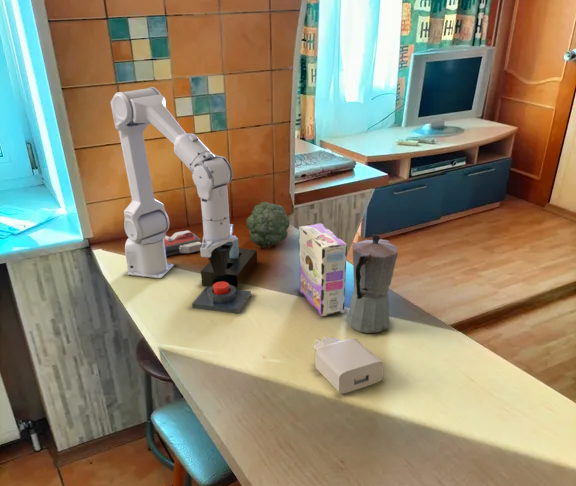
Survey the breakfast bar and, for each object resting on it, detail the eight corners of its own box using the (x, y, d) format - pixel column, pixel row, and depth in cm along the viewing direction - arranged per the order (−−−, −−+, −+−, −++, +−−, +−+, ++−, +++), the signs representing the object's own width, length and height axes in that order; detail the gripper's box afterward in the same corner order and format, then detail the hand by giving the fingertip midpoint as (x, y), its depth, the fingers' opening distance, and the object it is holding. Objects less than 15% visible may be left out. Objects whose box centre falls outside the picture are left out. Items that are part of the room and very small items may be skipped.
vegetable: (279, 220, 174) (304, 212, 161) (263, 259, 172) (286, 254, 158) (245, 200, 169) (267, 189, 156) (227, 239, 167) (249, 232, 153)
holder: (202, 286, 143) (200, 271, 141) (224, 260, 155) (223, 246, 153) (238, 290, 140) (237, 275, 138) (257, 264, 153) (256, 249, 151)
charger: (340, 342, 120) (382, 381, 108) (300, 354, 116) (338, 395, 105) (341, 322, 117) (384, 359, 106) (300, 333, 114) (339, 373, 102)
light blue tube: (229, 271, 150) (226, 238, 145) (232, 267, 152) (230, 234, 147) (238, 272, 149) (236, 238, 145) (241, 268, 151) (239, 235, 147)
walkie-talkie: (161, 261, 155) (228, 245, 164) (159, 246, 153) (227, 230, 162) (149, 250, 162) (215, 235, 171) (147, 235, 160) (213, 220, 169)
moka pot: (399, 313, 130) (407, 227, 120) (378, 347, 118) (385, 256, 108) (358, 304, 133) (363, 221, 123) (334, 337, 121) (336, 248, 111)
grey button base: (192, 308, 133) (191, 296, 132) (207, 290, 141) (206, 279, 139) (238, 314, 131) (237, 302, 129) (251, 295, 138) (250, 284, 137)
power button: (211, 294, 133) (210, 287, 132) (217, 287, 136) (216, 280, 135) (226, 296, 132) (225, 289, 132) (231, 289, 135) (231, 282, 134)
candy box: (345, 313, 130) (348, 243, 122) (320, 317, 129) (322, 247, 120) (321, 286, 142) (322, 221, 133) (298, 290, 140) (298, 225, 132)
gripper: (221, 230, 118) (225, 290, 125) (244, 206, 130) (247, 262, 137) (188, 227, 120) (194, 286, 127) (214, 204, 132) (218, 259, 139)
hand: (220, 274), depth 132 cm, fingers closed
